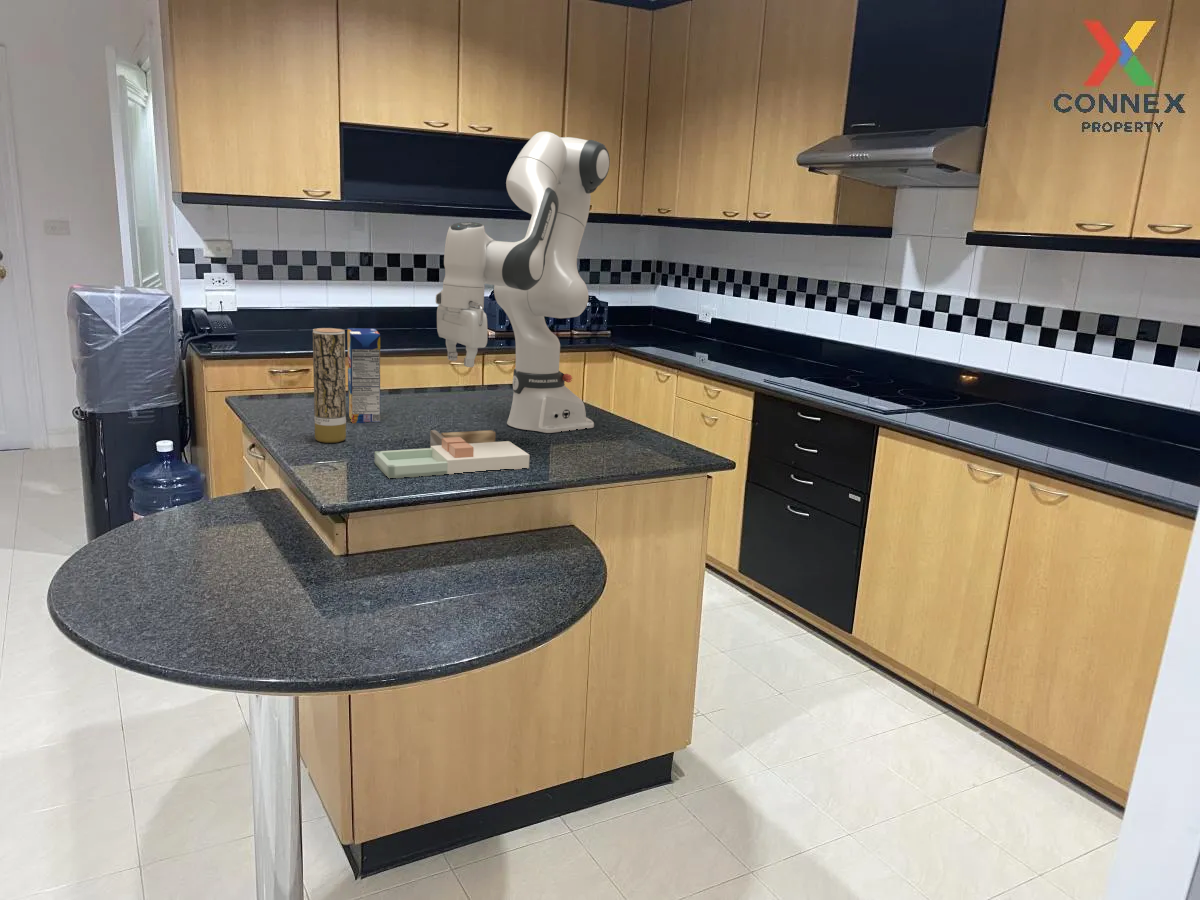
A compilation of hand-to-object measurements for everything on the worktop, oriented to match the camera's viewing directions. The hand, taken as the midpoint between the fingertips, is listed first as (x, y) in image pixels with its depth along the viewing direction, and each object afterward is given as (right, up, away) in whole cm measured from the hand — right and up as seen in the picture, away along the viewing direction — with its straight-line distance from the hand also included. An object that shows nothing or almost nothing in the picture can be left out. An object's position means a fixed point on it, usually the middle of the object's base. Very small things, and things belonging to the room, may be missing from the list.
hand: (460, 363), depth 194 cm
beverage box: (-29, -11, +30) cm, 44 cm away
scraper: (0, -19, +7) cm, 20 cm away
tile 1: (-1, -19, -4) cm, 19 cm away
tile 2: (+1, -20, -9) cm, 22 cm away
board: (+5, -22, -3) cm, 23 cm away
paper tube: (-31, -17, +8) cm, 36 cm away
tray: (-9, -23, -10) cm, 26 cm away
